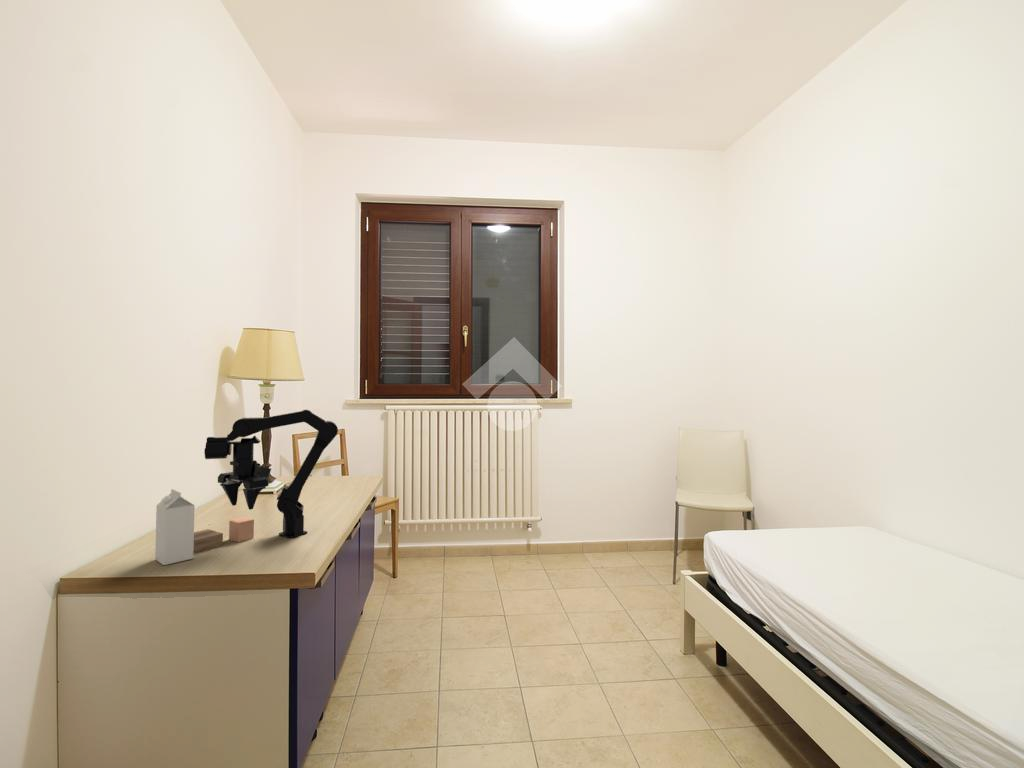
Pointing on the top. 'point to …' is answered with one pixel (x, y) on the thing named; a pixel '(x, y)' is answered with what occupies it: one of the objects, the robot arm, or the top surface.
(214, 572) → the top surface
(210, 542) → the walnut block
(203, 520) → the top surface
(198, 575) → the top surface
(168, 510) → the milk carton
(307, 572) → the top surface
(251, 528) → the terracotta cube
